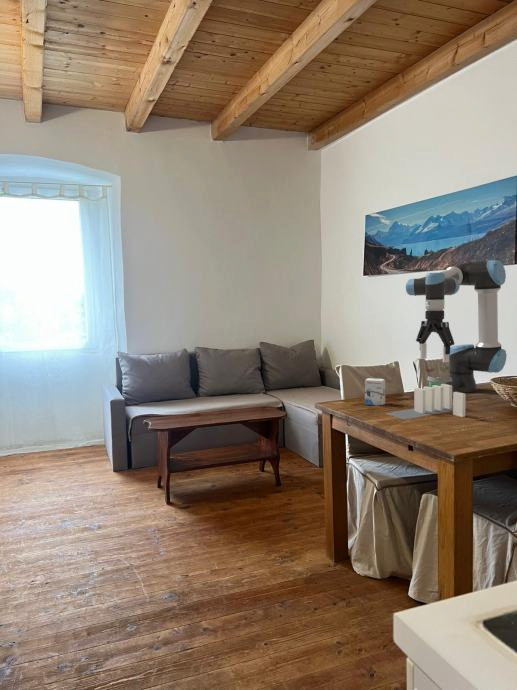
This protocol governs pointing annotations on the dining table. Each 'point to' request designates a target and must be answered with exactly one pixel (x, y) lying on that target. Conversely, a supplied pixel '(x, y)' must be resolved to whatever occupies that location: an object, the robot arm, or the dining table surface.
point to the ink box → (374, 391)
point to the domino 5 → (459, 404)
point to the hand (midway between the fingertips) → (434, 360)
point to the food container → (438, 381)
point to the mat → (416, 413)
